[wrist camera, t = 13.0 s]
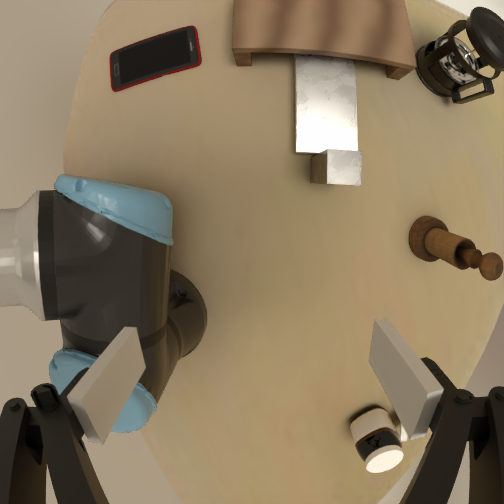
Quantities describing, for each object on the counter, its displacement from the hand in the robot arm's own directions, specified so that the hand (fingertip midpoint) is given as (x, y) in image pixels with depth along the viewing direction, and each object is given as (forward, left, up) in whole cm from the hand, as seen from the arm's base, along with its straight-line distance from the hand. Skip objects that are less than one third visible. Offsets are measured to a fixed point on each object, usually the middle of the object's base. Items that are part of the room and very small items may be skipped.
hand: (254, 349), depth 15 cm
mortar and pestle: (+25, +2, -28) cm, 37 cm away
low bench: (+8, +32, -28) cm, 43 cm away
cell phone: (-17, +29, -28) cm, 44 cm away
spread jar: (+24, -34, -28) cm, 50 cm away
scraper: (+8, +18, -28) cm, 34 cm away
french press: (+28, +29, -28) cm, 49 cm away
